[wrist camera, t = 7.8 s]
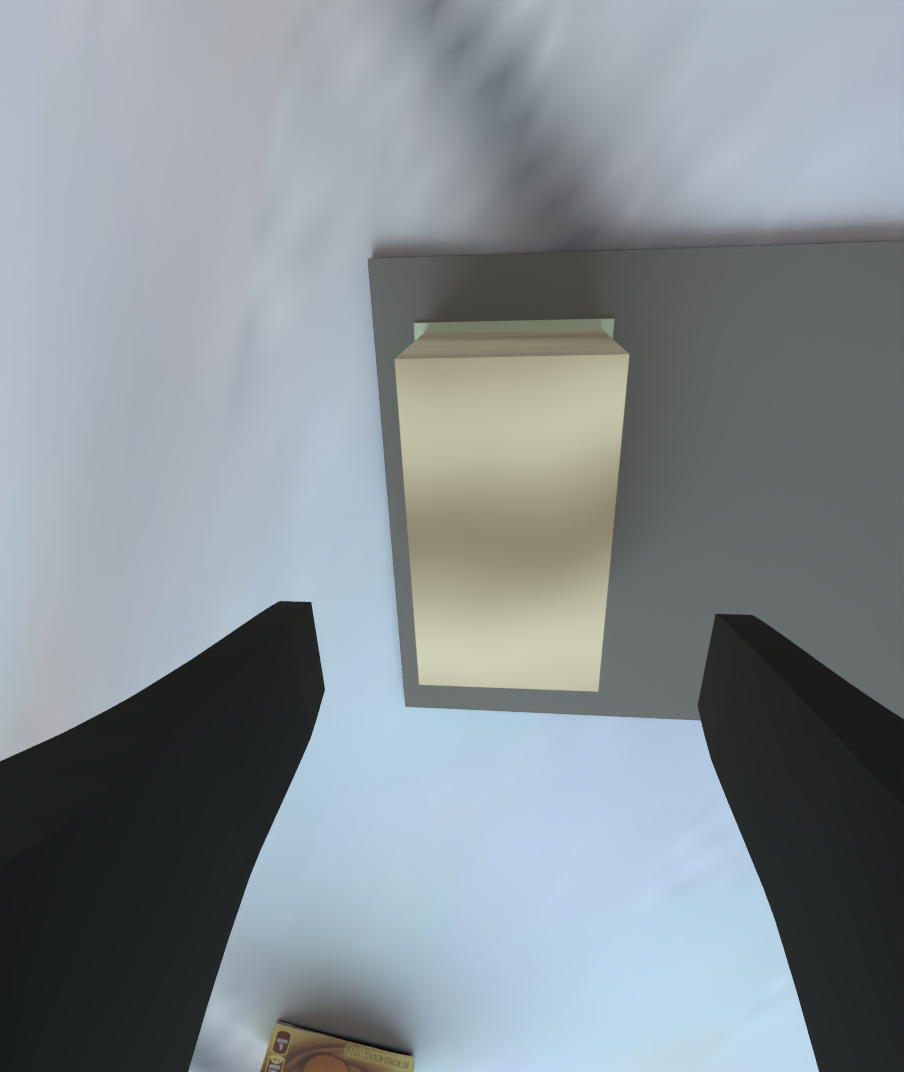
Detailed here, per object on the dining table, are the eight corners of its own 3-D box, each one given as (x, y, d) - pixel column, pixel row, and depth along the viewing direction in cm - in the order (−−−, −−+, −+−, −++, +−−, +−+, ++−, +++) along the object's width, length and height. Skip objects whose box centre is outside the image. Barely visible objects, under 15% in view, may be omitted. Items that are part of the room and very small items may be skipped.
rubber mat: (1162, 231, 15) (1183, 231, 14) (946, 724, 22) (955, 734, 21) (370, 258, 17) (366, 258, 16) (406, 699, 24) (404, 708, 23)
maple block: (582, 603, 20) (598, 691, 16) (438, 600, 21) (418, 684, 17) (601, 328, 16) (629, 354, 12) (423, 332, 17) (394, 358, 13)
